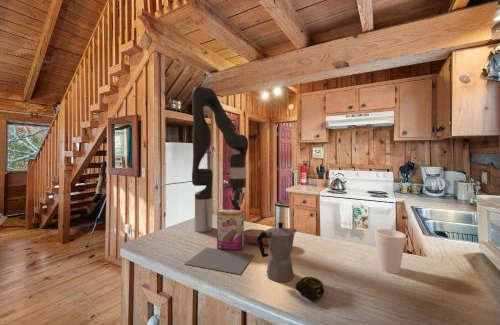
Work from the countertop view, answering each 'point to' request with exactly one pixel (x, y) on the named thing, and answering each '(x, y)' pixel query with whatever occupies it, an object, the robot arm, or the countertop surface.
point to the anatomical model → (254, 236)
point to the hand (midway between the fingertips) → (237, 214)
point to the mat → (221, 260)
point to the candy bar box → (230, 229)
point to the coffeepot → (278, 252)
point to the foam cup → (390, 249)
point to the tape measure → (310, 287)
